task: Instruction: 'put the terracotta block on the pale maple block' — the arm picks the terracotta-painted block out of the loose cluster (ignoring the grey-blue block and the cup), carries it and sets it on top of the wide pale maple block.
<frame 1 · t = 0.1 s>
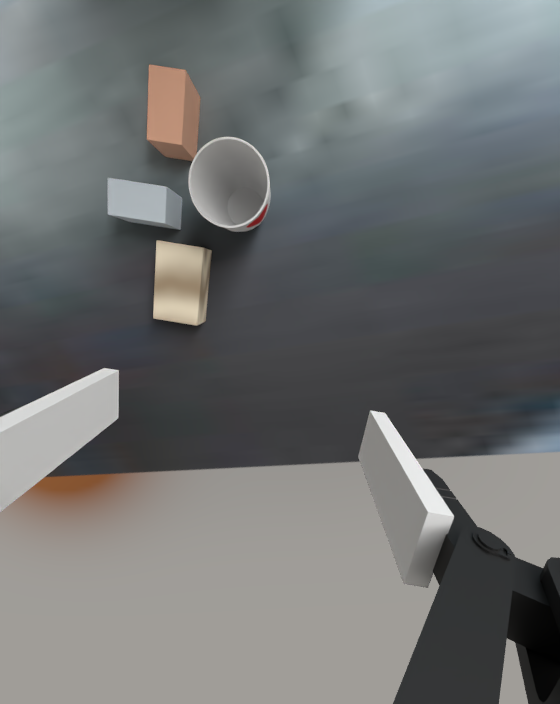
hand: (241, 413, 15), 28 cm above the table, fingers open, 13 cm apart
slate block: (156, 210, 39), on the table
maple block: (188, 283, 41), on the table
cup: (245, 208, 38), on the table
terracotta block: (182, 128, 36), on the table
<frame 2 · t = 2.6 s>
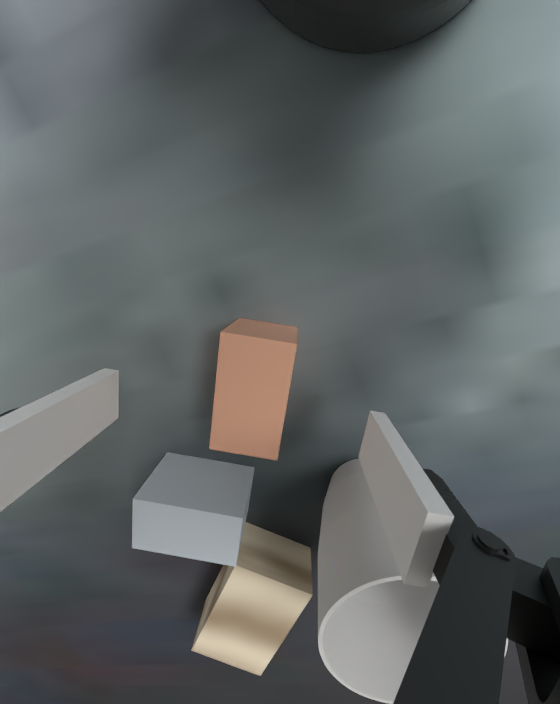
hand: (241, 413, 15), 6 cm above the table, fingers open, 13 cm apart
slate block: (209, 479, 23), on the table
maple block: (256, 571, 26), on the table
cup: (361, 484, 23), on the table
terracotta block: (261, 370, 21), on the table
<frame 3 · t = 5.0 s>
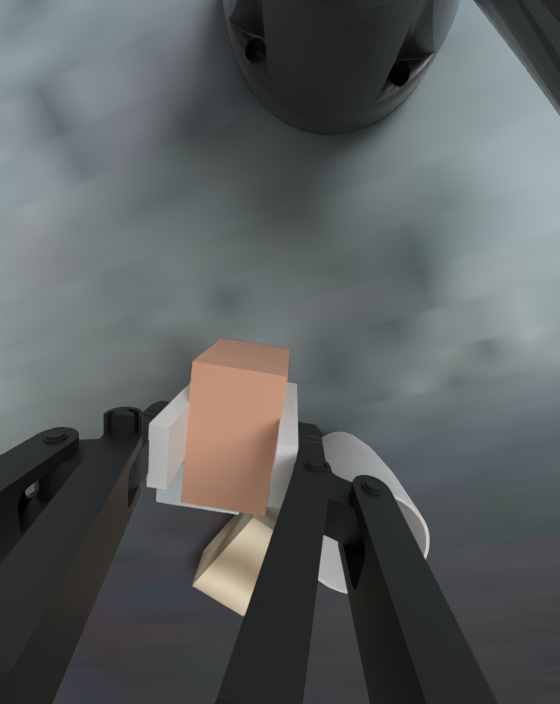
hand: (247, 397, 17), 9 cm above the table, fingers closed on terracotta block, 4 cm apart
slate block: (214, 453, 29), on the table
maple block: (253, 533, 31), on the table
cup: (338, 453, 28), on the table
terracotta block: (248, 399, 18), point 9 cm above the table, touching gripper
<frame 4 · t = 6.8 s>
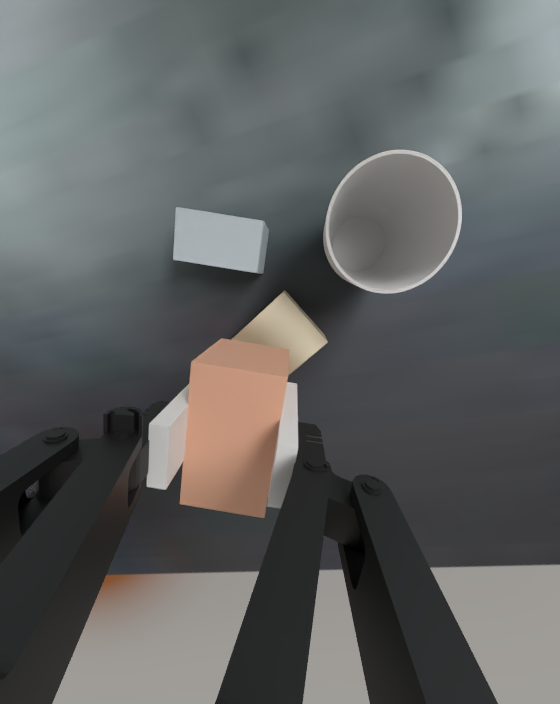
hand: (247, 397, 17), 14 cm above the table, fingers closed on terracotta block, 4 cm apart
slate block: (230, 246, 28), on the table
maple block: (268, 343, 30), on the table
cup: (357, 244, 27), on the table
terracotta block: (248, 399, 17), point 13 cm above the table, touching gripper
when the fingers open (3 cm above the table, at t = 8.8 s): terracotta block stays where it is, resting on maple block.
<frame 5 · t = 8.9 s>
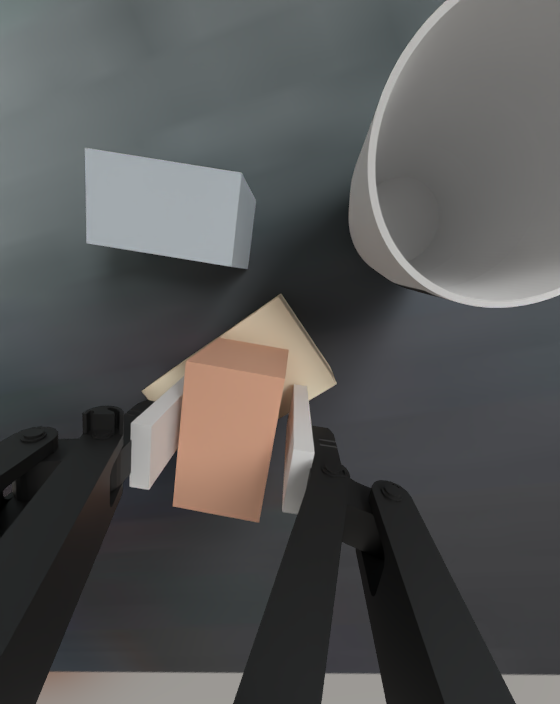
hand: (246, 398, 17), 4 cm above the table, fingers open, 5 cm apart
slate block: (196, 227, 18), on the table
maple block: (247, 367, 21), on the table, touching gripper, terracotta block
cup: (395, 222, 17), on the table
terracotta block: (245, 400, 17), point 3 cm above the table, touching maple block
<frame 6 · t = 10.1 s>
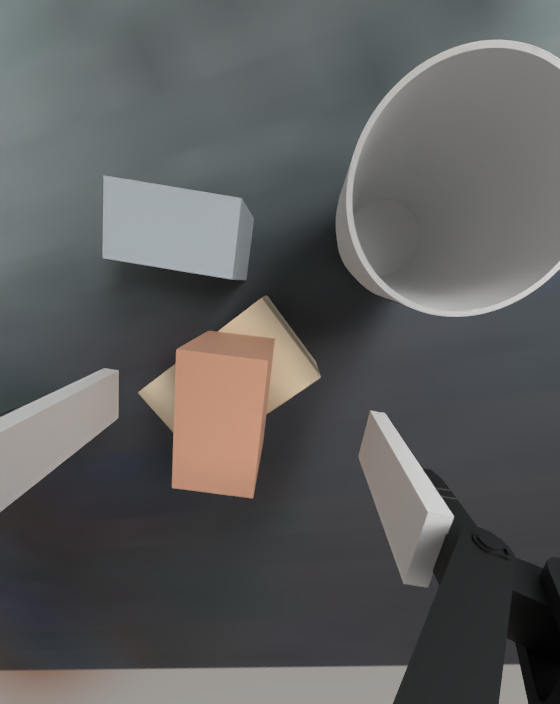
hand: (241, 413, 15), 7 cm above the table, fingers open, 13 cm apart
slate block: (199, 242, 20), on the table
maple block: (238, 367, 22), on the table, touching terracotta block
cup: (379, 238, 19), on the table
terracotta block: (237, 389, 18), point 4 cm above the table, touching maple block
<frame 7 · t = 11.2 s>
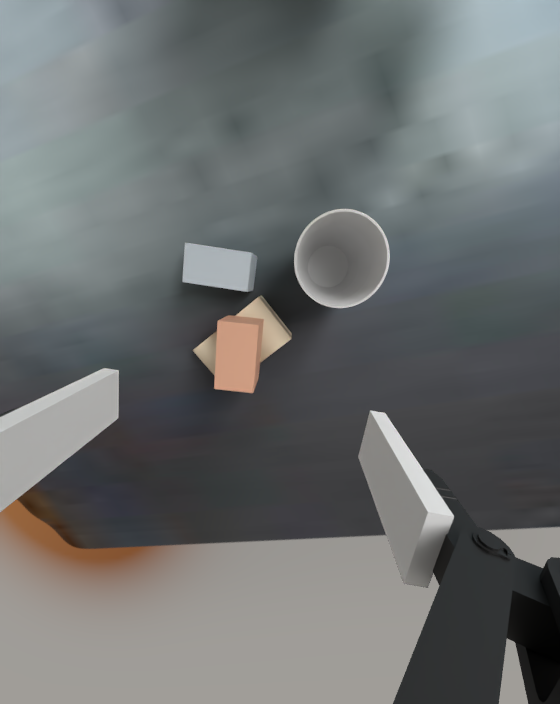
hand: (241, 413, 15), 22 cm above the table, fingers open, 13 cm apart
slate block: (227, 269, 35), on the table
maple block: (246, 338, 37), on the table
cup: (327, 266, 35), on the table
terracotta block: (244, 347, 33), point 4 cm above the table
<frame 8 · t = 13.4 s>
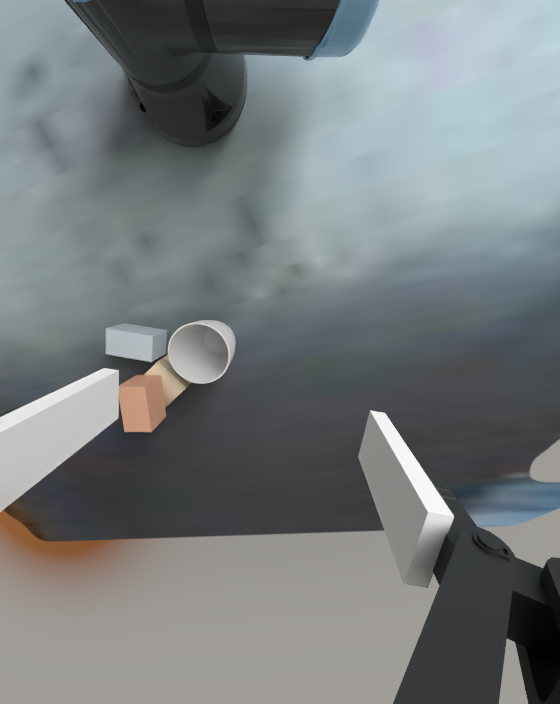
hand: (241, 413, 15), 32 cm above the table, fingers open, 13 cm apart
slate block: (145, 338, 47), on the table
maple block: (162, 385, 50), on the table
cup: (218, 338, 47), on the table
terracotta block: (151, 395, 46), point 4 cm above the table
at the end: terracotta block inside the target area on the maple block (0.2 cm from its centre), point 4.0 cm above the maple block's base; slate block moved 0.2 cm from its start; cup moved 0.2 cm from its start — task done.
